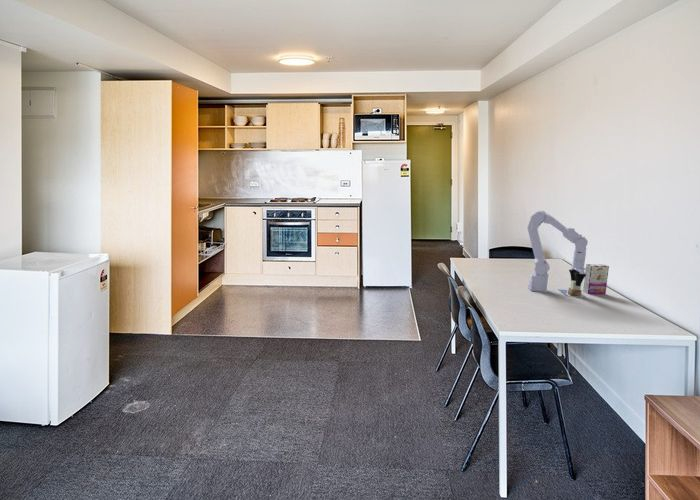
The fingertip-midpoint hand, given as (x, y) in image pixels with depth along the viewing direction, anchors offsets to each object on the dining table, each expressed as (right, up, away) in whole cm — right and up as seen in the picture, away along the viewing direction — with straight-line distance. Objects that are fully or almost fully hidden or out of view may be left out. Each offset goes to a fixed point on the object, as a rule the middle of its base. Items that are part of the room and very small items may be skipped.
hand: (575, 284), depth 272 cm
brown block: (0, -6, +1) cm, 6 cm away
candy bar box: (+14, -6, +9) cm, 18 cm away
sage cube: (0, -2, 0) cm, 3 cm away
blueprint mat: (0, -6, +5) cm, 8 cm away
